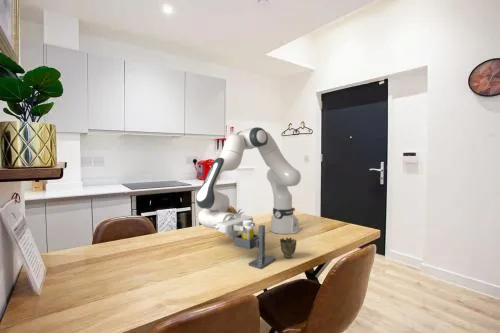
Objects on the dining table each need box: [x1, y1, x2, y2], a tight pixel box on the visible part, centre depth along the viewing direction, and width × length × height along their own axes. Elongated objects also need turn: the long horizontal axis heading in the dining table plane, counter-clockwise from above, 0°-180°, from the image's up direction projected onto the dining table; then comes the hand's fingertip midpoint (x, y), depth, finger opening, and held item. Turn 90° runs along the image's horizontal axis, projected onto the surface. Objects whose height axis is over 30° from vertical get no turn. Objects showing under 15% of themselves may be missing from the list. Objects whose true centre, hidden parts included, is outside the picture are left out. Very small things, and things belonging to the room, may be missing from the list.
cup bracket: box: [233, 224, 277, 270], centre depth 118 cm, size 12×15×16 cm
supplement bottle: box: [241, 220, 255, 240], centre depth 120 cm, size 5×5×10 cm
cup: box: [279, 237, 298, 259], centre depth 122 cm, size 8×7×8 cm
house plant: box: [226, 208, 244, 239], centre depth 153 cm, size 14×14×16 cm
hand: (249, 226), depth 120 cm, fingers open, 6 cm apart
